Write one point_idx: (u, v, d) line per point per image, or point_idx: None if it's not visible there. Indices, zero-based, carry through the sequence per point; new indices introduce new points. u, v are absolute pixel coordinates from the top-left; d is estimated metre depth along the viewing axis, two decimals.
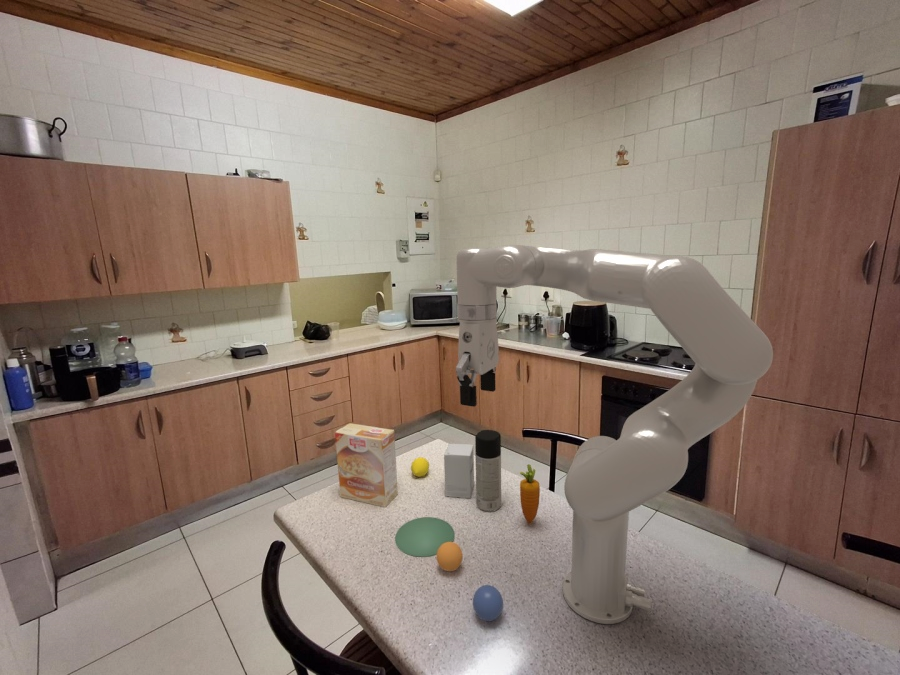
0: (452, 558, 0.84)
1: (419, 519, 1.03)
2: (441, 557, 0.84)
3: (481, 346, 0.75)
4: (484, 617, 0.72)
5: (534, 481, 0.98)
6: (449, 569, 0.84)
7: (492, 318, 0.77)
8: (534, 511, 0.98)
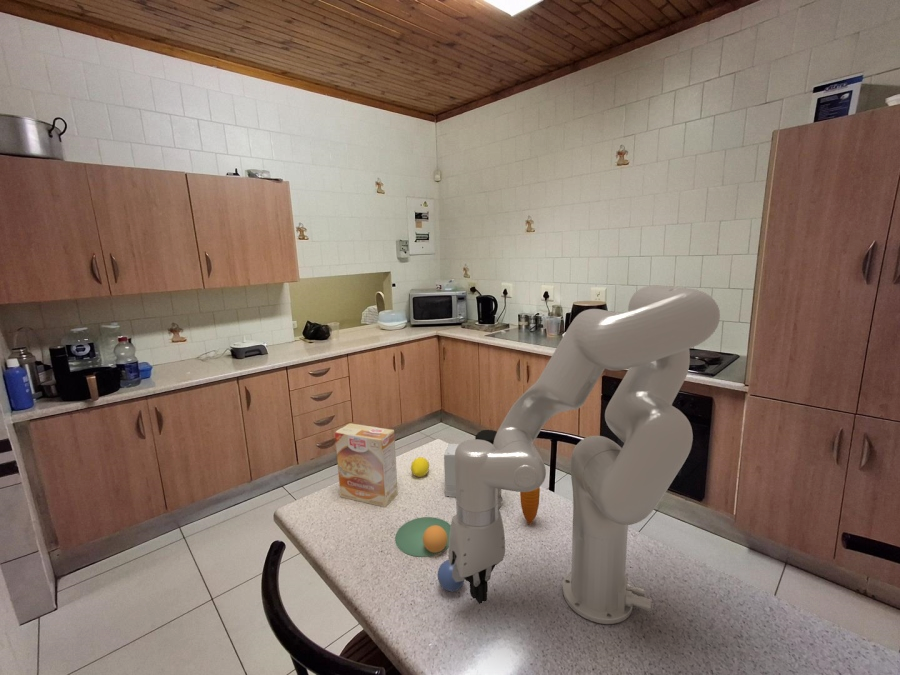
0: None
1: (419, 519, 1.03)
2: None
3: None
4: None
5: None
6: (428, 529, 0.91)
7: None
8: (534, 511, 0.98)
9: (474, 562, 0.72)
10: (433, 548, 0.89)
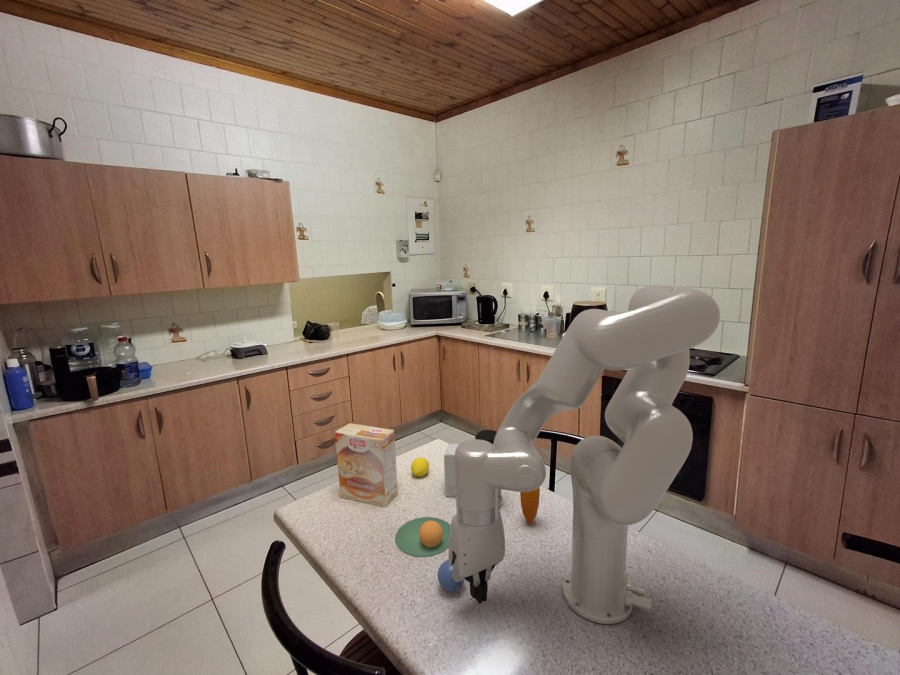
0: None
1: (419, 519, 1.03)
2: None
3: None
4: None
5: None
6: None
7: None
8: (534, 511, 0.98)
9: (474, 562, 0.72)
10: (428, 534, 0.91)
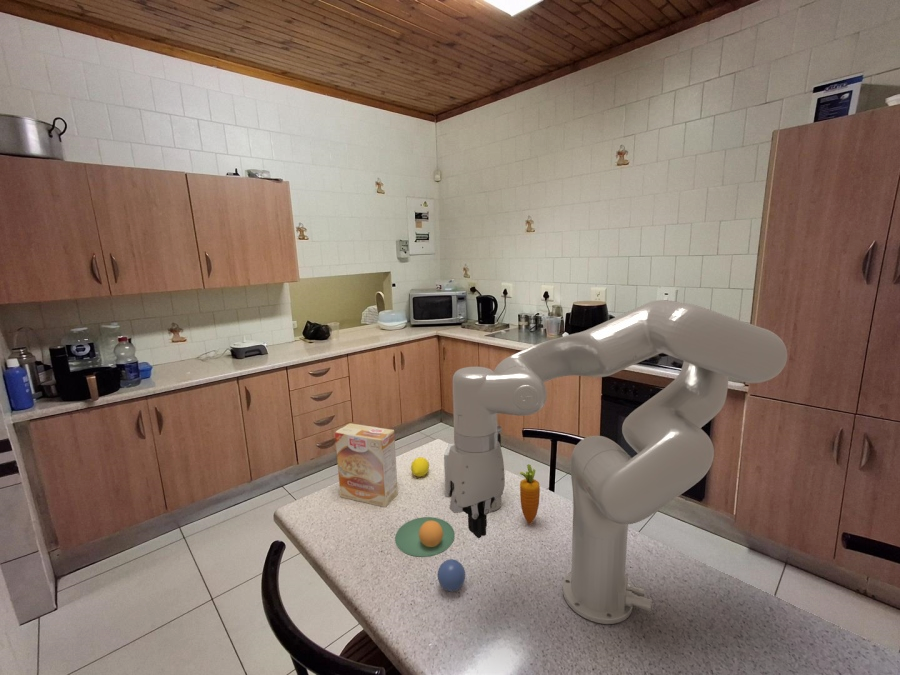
0: None
1: (419, 519, 1.03)
2: None
3: None
4: None
5: (534, 481, 0.98)
6: None
7: None
8: (534, 511, 0.98)
9: (472, 491, 0.70)
10: (428, 534, 0.91)
